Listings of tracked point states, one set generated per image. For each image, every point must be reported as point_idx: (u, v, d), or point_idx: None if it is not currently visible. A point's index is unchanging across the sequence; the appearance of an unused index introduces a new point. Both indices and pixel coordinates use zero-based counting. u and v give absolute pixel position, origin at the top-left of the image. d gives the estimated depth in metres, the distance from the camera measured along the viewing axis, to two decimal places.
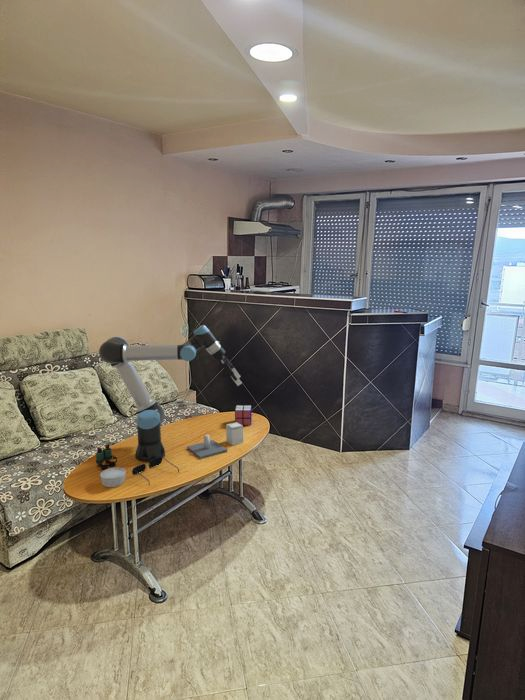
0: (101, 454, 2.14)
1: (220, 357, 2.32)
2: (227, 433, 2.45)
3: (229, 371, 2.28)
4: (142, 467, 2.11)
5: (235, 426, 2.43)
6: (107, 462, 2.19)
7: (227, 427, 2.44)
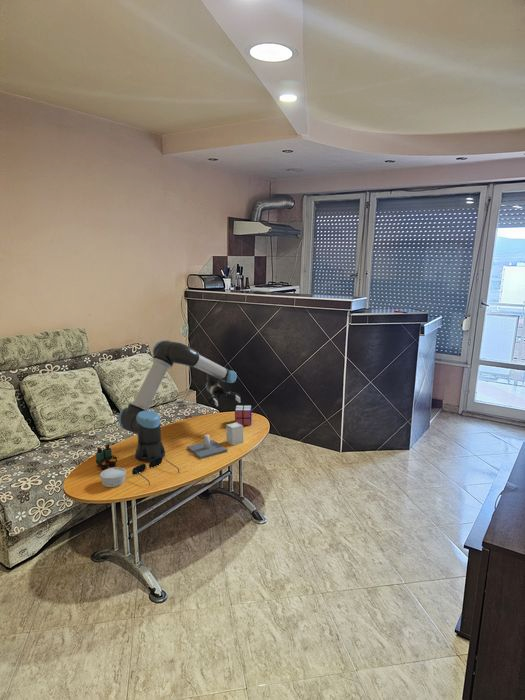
0: (101, 454, 2.14)
1: None
2: (227, 433, 2.45)
3: None
4: (142, 467, 2.11)
5: (235, 426, 2.43)
6: (107, 462, 2.19)
7: (227, 427, 2.44)
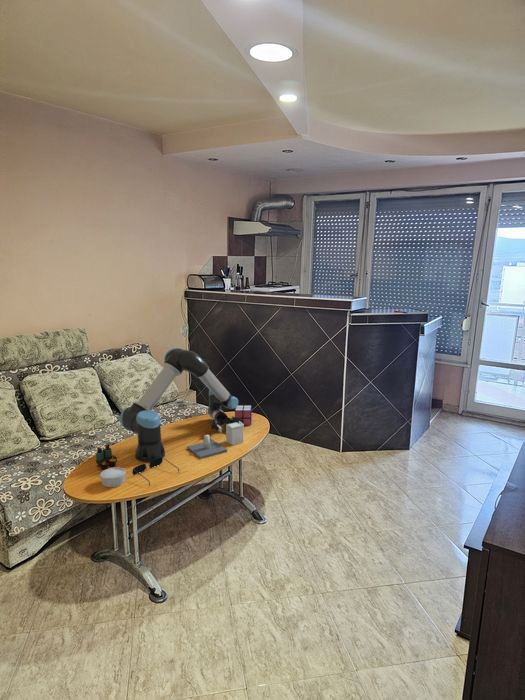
0: (101, 454, 2.14)
1: None
2: (227, 433, 2.45)
3: None
4: (142, 467, 2.11)
5: (235, 426, 2.43)
6: (107, 462, 2.19)
7: (227, 427, 2.44)
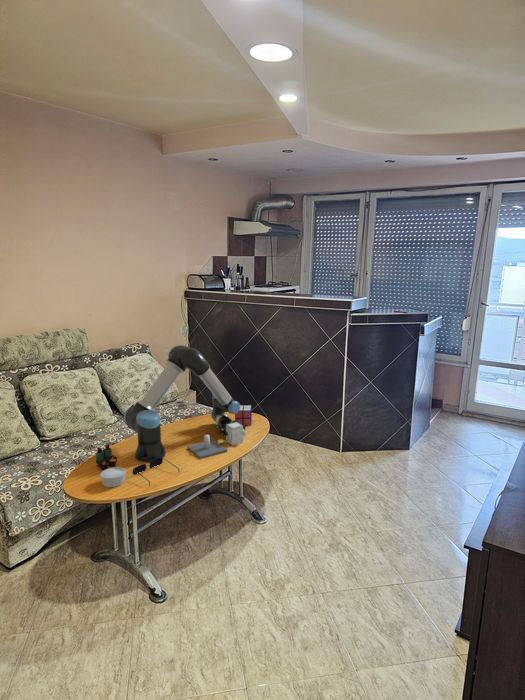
0: (101, 454, 2.14)
1: None
2: None
3: None
4: (142, 467, 2.10)
5: (235, 426, 2.43)
6: (107, 462, 2.19)
7: (227, 427, 2.44)
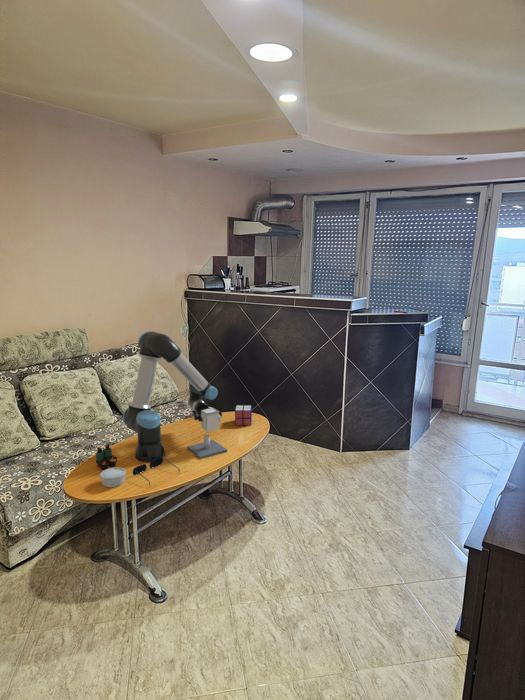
0: (101, 454, 2.14)
1: None
2: None
3: None
4: (143, 467, 2.10)
5: (210, 412, 2.31)
6: (107, 462, 2.19)
7: (202, 413, 2.33)
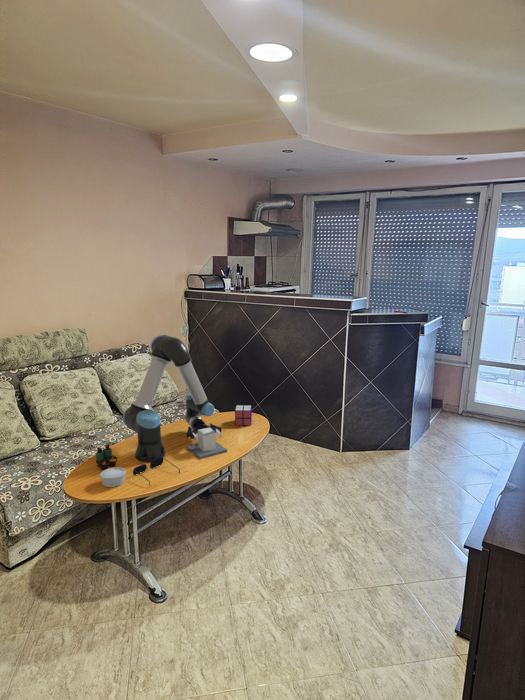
0: (101, 454, 2.14)
1: None
2: (199, 438, 2.34)
3: None
4: (143, 467, 2.10)
5: (206, 431, 2.32)
6: (107, 462, 2.19)
7: (198, 432, 2.34)
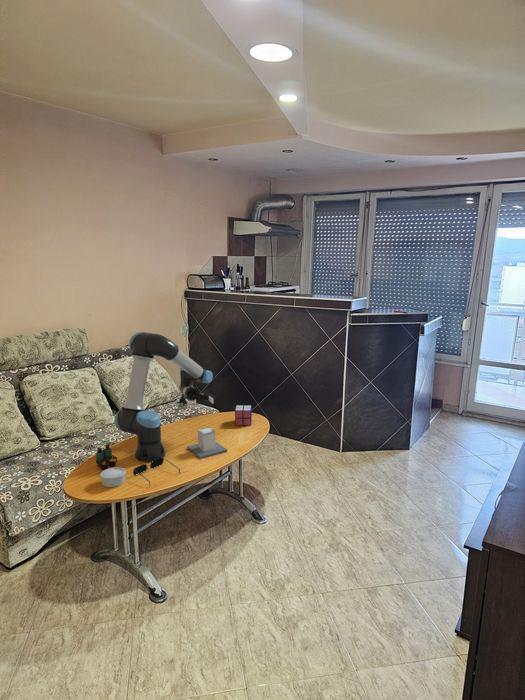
0: (101, 454, 2.14)
1: None
2: (199, 438, 2.34)
3: None
4: (143, 467, 2.10)
5: (206, 431, 2.32)
6: (107, 462, 2.19)
7: (198, 432, 2.34)
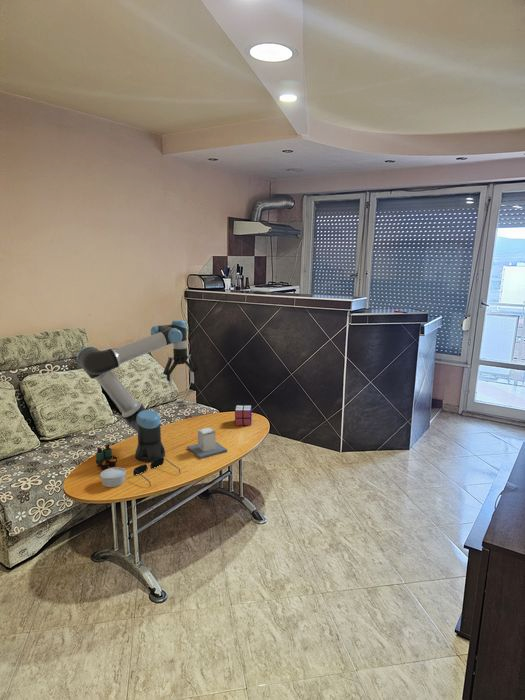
0: (101, 454, 2.14)
1: None
2: (199, 438, 2.34)
3: None
4: (143, 468, 2.10)
5: (206, 431, 2.32)
6: (107, 462, 2.19)
7: (198, 432, 2.34)
